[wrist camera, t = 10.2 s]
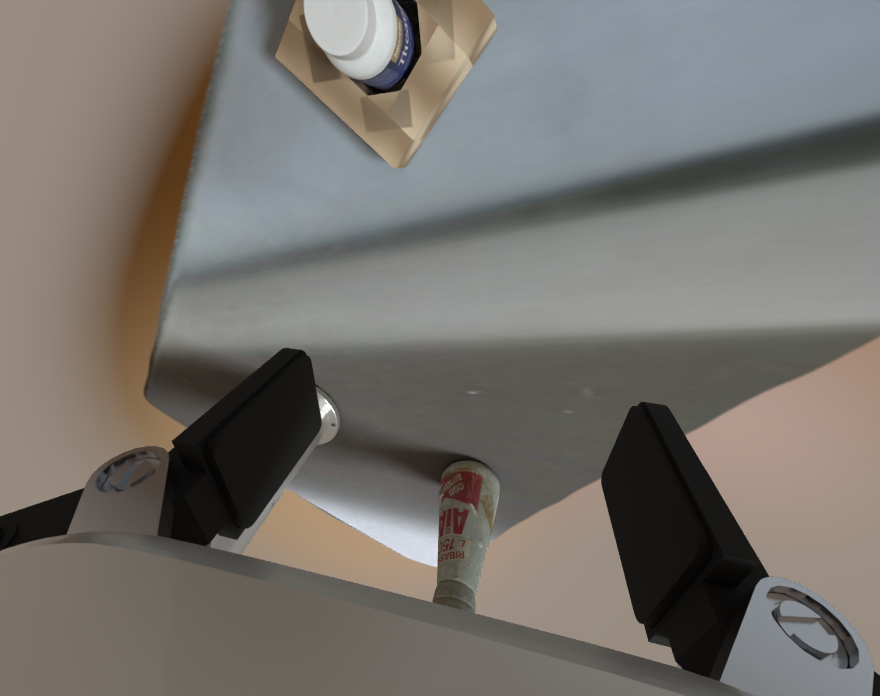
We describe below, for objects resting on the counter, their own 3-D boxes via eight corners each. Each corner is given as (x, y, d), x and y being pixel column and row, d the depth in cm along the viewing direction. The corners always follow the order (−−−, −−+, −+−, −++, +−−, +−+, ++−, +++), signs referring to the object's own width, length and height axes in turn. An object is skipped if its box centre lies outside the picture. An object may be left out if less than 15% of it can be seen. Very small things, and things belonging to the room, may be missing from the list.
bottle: (474, 503, 55) (438, 774, 31) (431, 472, 53) (359, 734, 29) (513, 482, 50) (506, 778, 27) (468, 447, 48) (418, 731, 25)
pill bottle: (429, 81, 28) (391, 53, 20) (371, 101, 30) (314, 83, 21) (412, -6, 26) (360, -79, 17) (350, 21, 27) (276, -34, 19)
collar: (406, 167, 32) (394, 168, 29) (299, 66, 29) (274, 56, 26) (497, 29, 26) (493, 14, 23) (371, -111, 23) (350, -149, 20)
